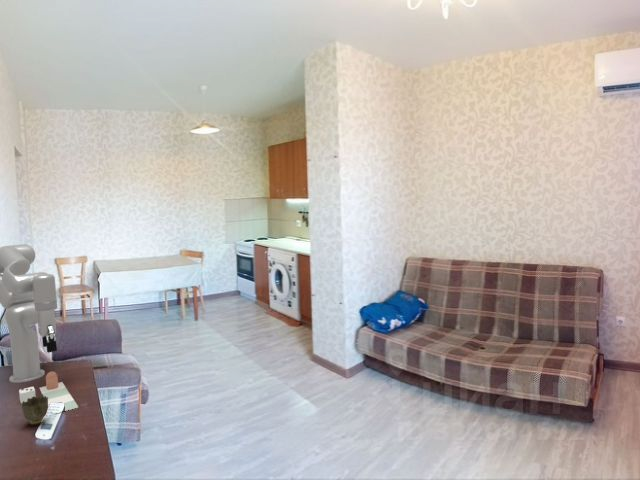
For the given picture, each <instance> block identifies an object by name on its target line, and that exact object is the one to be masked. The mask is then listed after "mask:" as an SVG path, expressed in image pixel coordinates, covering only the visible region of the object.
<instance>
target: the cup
mask: <svg viewBox="0 0 640 480" xmlns="http://www.w3.org/2000/svg"><path fill="white" fill-rule="evenodd" d="M21 404H22V405H21ZM20 405H21V408H22V411H23V416H24V418H25V419H26V420H27V421H29V423H30V425H31V426H37V425H40V424H42V423H41V421H42V419H43V420H44V418H45V416H46V415H47V413H48V408H49V406H48V396H47V397H46V396H45V397H44V396H43V395H42V396H40V395H38V396H36V397H35V396H34V397H32V398H31V399H30V398H28V399H27V402H24V401H23V403H21V402H20Z"/></svg>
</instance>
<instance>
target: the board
mask: <svg viewBox="0 0 640 480" xmlns="http://www.w3.org/2000/svg"><path fill="white" fill-rule="evenodd" d="M39 390H40V392H41V395H42V396H44V397H45V396H46V397H47V396H48V407H49V404H50V403H51V402H62V403H64V404H65V411H66V412H69V411H72V409H73V410H76V409H79V405H78V404H77V402H76V400H75V399H74V398H73V396H72V395H71V393H70V392H69V391H68V388H67V387H66V386H65V384H64V383H63V381H61V382H58V388H56V389H52V390H47V388H46V385H45V386H41V387H39ZM75 408H76V409H75ZM68 410H69V411H68Z"/></svg>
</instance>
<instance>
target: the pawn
mask: <svg viewBox="0 0 640 480" xmlns="http://www.w3.org/2000/svg"><path fill="white" fill-rule="evenodd" d="M58 379H59V378H58V374H57V373H56V372H55V371H49V372H48V373H47V374H46V376H45V384H46V385H45V386H46V388H47V390H52V389H56V388H58V383H59V380H58Z"/></svg>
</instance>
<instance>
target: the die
mask: <svg viewBox="0 0 640 480" xmlns="http://www.w3.org/2000/svg"><path fill="white" fill-rule="evenodd" d="M18 395H19V402H20V405H21V406H22V404H21V403H23V401H24V402H27V399H28V398H30V399H31V398H32V397H34V396H35V397H36V398H37V396H36V389H35V387H34V386H29V387H25V388H20V389H19V390H18Z"/></svg>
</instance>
